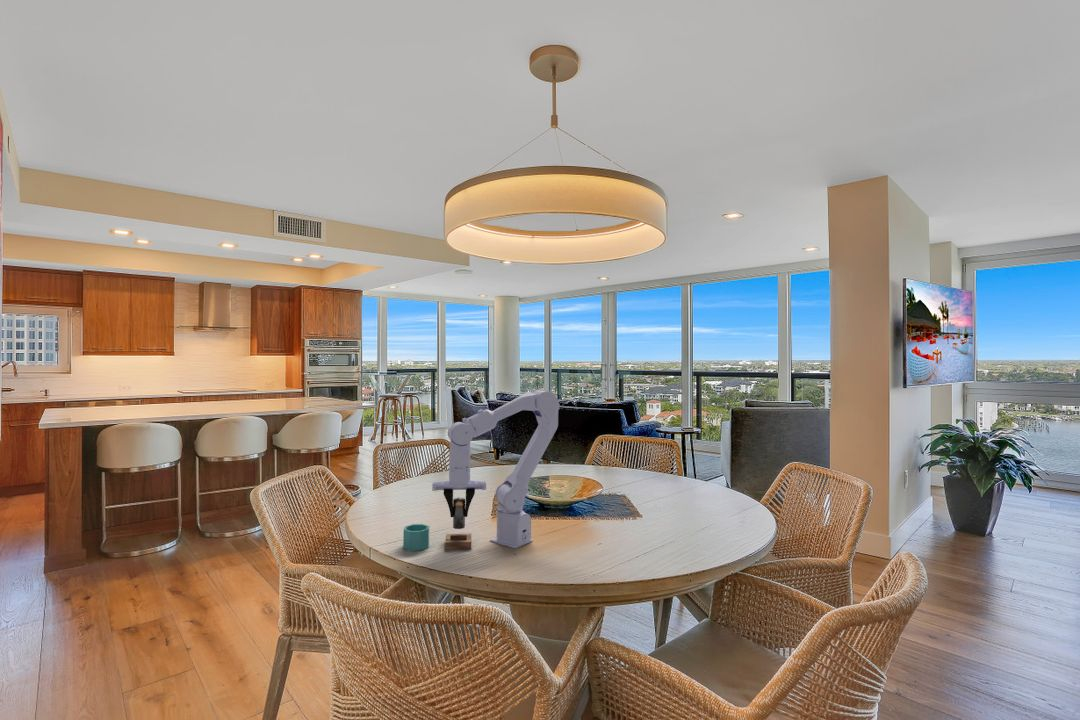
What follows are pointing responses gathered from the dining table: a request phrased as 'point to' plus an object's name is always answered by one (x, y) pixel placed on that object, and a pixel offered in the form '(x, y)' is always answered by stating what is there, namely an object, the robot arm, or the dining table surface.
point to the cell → (459, 513)
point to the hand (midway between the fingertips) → (459, 516)
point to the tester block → (458, 541)
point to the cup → (416, 537)
